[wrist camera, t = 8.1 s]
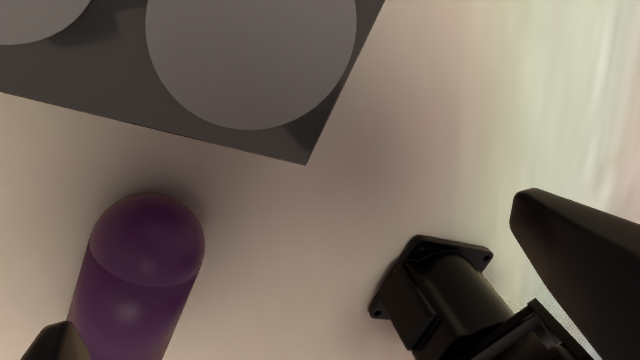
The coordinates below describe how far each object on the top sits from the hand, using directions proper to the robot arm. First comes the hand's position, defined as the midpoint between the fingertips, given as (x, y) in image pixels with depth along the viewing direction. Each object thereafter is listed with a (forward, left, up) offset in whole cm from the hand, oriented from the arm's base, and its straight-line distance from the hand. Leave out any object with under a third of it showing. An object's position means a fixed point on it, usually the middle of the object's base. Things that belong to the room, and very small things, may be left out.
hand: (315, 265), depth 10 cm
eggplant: (+1, +11, -12) cm, 17 cm away
